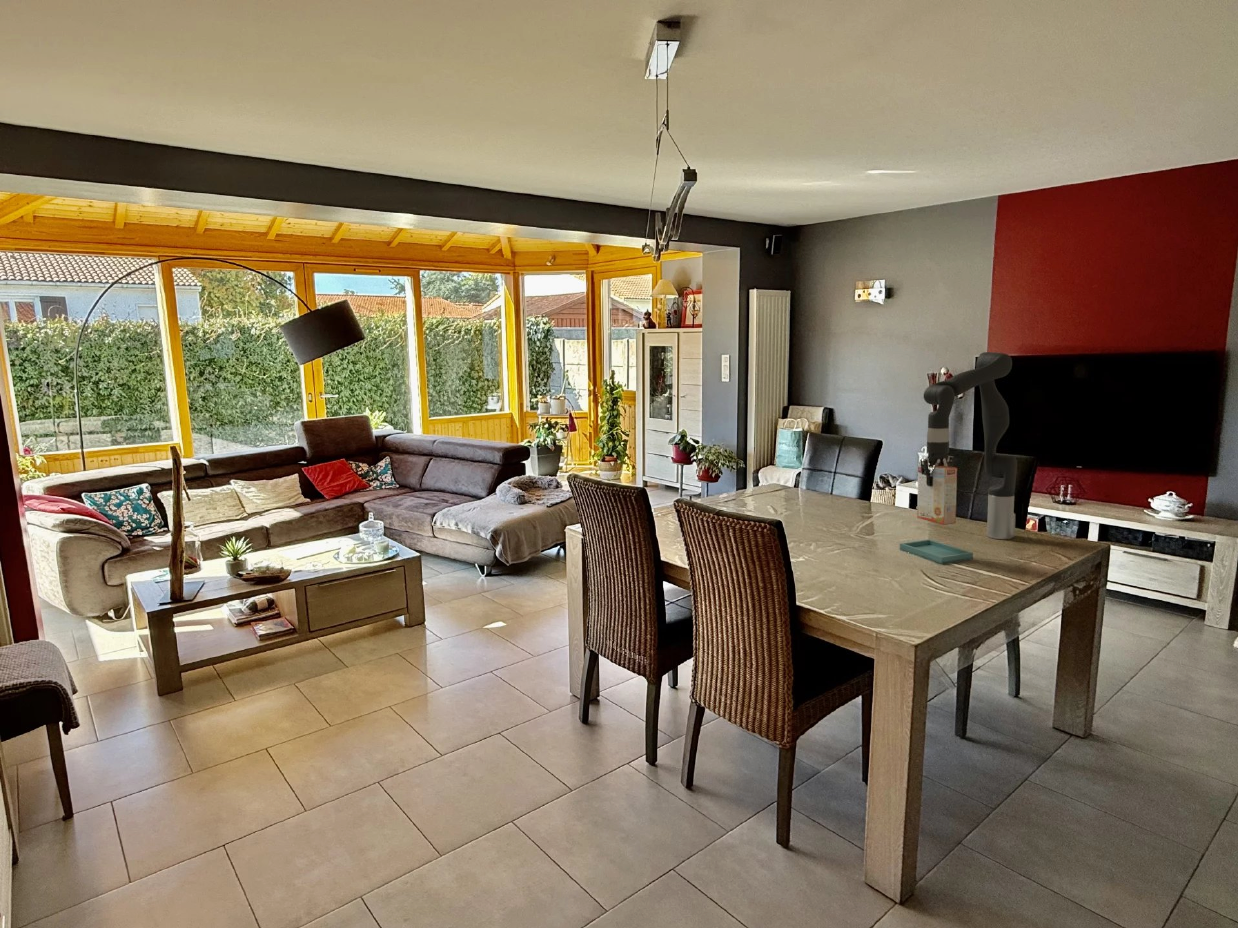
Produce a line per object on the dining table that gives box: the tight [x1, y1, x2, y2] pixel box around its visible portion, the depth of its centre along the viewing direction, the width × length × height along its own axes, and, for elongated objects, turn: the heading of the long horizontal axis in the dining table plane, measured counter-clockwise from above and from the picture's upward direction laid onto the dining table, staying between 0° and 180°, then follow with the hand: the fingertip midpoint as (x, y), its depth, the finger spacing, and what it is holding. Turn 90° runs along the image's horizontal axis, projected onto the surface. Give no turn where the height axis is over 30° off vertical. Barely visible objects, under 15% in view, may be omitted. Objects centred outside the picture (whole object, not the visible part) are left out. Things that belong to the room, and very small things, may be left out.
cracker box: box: [916, 463, 958, 526], centre depth 271 cm, size 14×6×21 cm, turn 18°
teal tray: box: [899, 538, 974, 565], centre depth 274 cm, size 14×22×2 cm, turn 19°
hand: (937, 485), depth 271 cm, fingers closed on cracker box, 6 cm apart
